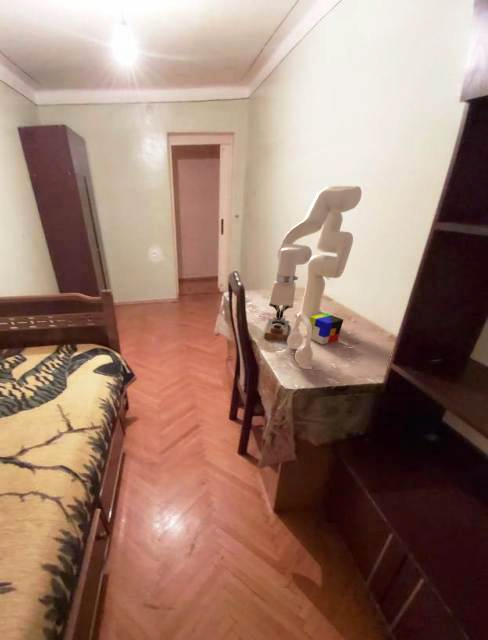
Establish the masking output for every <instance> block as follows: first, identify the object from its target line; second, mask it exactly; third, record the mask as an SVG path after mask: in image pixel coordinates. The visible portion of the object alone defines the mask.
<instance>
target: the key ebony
mask: <svg viewBox="0 0 488 640" xmlns="http://www.w3.org/2000/svg"><path fill="white" fill-rule="evenodd" d="M280 327H281V324H279V323H275V325H274V328H280Z"/></svg>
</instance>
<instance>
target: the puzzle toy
mask: <svg viewBox="0 0 488 640" xmlns="http://www.w3.org/2000/svg"><path fill="white" fill-rule="evenodd" d="M327 313H328V312H326V313H324V314H320V315H315V316H311V317H310V323H311V327H312V335H311V341H314V342H316V343H318V344H320V345H325V344H330V343H333V342H336V341H338V340H339V337H340V334H341V329H342V327H343V323H344V319H343V318H341V317H338V316H335V315H332V314H330V313H328V314H327ZM306 336H307V334H306V335H305V337H306Z"/></svg>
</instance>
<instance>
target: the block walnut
mask: <svg viewBox="0 0 488 640" xmlns="http://www.w3.org/2000/svg"><path fill="white" fill-rule="evenodd" d="M274 325H275V324H272V325H271V326H269V325H268V324H267V325H266V328H265V331H264V339H269V340H277V341H286V342H287V339H288V331H289V326H288V327H284V325H281V327H280V328H274Z"/></svg>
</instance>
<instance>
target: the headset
mask: <svg viewBox="0 0 488 640" xmlns="http://www.w3.org/2000/svg"><path fill="white" fill-rule="evenodd" d="M301 322H302V323H303V325H304V326H305V327H306V335H307V336H306V335H305V345H303V343H304V335H303V334H302V332H301V331H300V330H301V329H300V328H299V327H300V324H301ZM311 335H312V327H311V323H310V320H309V319H308V318H307V316H306V315H304V314H301V315H298V317H297V316H296V320H295V323H294V326H293V328H292V329H291V332H290V334H289V335H287V338H286V343H287V346H288V347H289V348H290V349H292V350H296V351H295V354H294V359H295V361H296V362H297V363H298V367H300V368H302V369H307V370H312V369H313V366H312V365H309V362H311V360H312V358H313V356H314V352H313V349H312V347H311V343H312V339H311ZM302 345H303V346H302Z"/></svg>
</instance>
